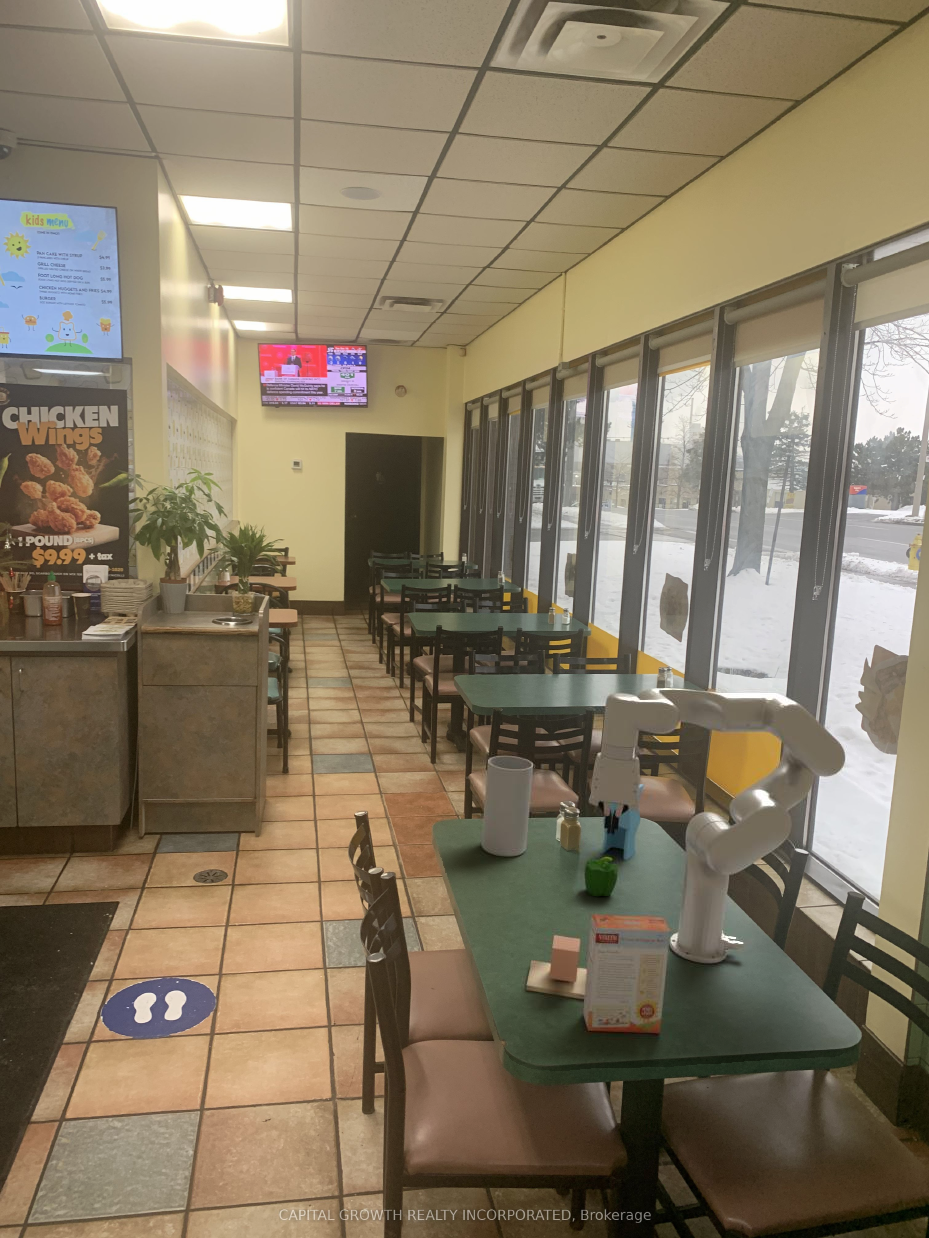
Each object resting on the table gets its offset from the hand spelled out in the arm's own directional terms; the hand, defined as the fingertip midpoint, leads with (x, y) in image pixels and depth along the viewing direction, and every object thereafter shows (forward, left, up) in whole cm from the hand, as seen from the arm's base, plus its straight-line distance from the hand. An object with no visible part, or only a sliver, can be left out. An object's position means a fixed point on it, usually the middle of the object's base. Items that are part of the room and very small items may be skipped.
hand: (610, 831), depth 195 cm
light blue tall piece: (-4, -57, -27) cm, 63 cm away
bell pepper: (+1, -28, -27) cm, 39 cm away
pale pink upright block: (+7, +17, -25) cm, 31 cm away
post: (+7, +17, -27) cm, 33 cm away
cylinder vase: (+28, -48, -27) cm, 62 cm away
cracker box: (-5, +28, -27) cm, 40 cm away
